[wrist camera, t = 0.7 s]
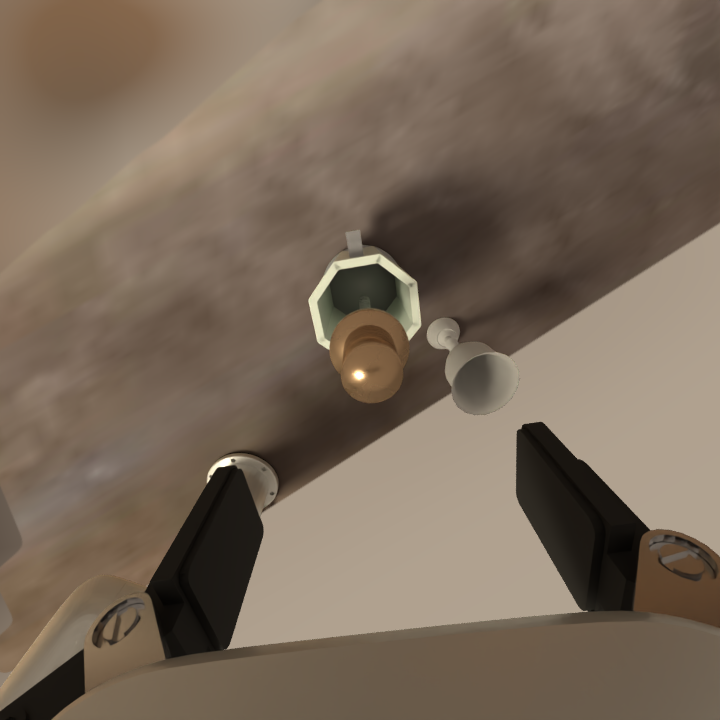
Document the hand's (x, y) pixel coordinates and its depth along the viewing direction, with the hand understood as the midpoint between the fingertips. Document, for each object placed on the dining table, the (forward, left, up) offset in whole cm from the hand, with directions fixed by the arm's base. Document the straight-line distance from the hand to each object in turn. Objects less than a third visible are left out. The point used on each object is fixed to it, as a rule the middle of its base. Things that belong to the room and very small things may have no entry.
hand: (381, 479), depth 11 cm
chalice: (-9, -11, -40) cm, 43 cm away
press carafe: (0, 0, -40) cm, 40 cm away
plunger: (0, 0, -30) cm, 30 cm away
